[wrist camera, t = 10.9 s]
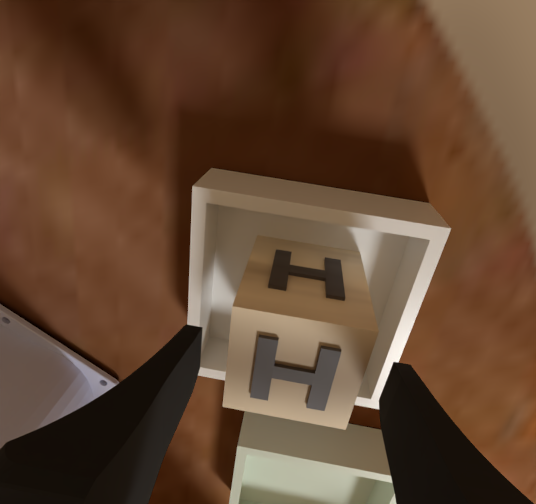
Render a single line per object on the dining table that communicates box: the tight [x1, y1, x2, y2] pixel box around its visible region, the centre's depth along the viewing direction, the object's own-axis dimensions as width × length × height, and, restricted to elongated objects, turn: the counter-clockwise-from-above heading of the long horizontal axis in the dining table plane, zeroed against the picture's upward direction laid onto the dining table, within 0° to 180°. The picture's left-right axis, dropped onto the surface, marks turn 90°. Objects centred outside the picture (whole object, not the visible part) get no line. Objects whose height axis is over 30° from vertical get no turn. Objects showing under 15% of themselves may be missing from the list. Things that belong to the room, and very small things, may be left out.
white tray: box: [187, 168, 451, 409], centre depth 18 cm, size 10×10×3 cm
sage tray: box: [229, 411, 396, 504], centre depth 25 cm, size 10×10×3 cm
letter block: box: [222, 235, 379, 430], centre depth 16 cm, size 5×5×6 cm
